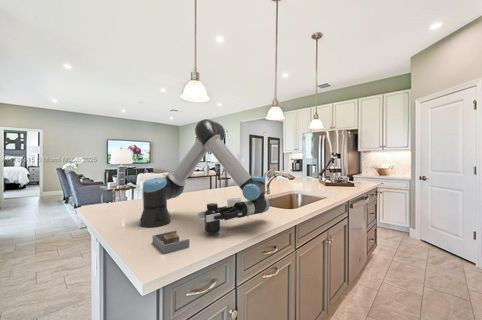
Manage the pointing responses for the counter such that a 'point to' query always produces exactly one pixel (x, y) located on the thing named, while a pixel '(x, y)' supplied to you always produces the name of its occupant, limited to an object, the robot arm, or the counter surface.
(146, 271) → the counter surface
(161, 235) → the grey u-shaped bracket
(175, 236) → the brown wooden block
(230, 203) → the cup
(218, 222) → the supplement bottle
